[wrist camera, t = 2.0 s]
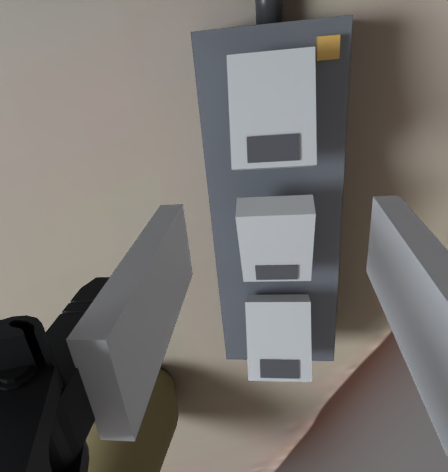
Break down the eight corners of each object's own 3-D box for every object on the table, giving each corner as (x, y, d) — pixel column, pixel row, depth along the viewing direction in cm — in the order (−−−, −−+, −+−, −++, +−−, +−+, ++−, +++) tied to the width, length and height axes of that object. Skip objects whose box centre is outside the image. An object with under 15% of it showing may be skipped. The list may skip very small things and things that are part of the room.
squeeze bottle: (183, 357, 38) (121, 577, 22) (188, 411, 42) (137, 635, 26) (107, 351, 39) (-5, 560, 23) (118, 405, 43) (27, 618, 27)
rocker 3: (246, 294, 29) (245, 302, 27) (308, 294, 28) (310, 302, 26) (249, 368, 29) (248, 381, 28) (309, 369, 29) (312, 382, 27)
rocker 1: (230, 65, 22) (226, 54, 20) (311, 57, 21) (315, 45, 19) (235, 170, 22) (231, 169, 21) (313, 166, 22) (317, 164, 20)
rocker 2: (236, 197, 23) (235, 218, 22) (312, 194, 23) (315, 215, 21) (244, 262, 27) (243, 282, 26) (308, 261, 27) (311, 282, 25)
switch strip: (196, -19, 24) (178, -36, 19) (342, -38, 23) (361, -60, 18) (230, 328, 36) (225, 369, 31) (327, 329, 35) (336, 371, 30)
